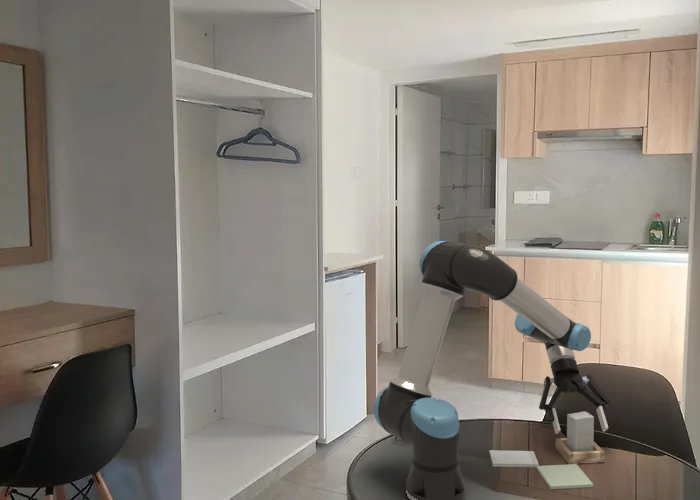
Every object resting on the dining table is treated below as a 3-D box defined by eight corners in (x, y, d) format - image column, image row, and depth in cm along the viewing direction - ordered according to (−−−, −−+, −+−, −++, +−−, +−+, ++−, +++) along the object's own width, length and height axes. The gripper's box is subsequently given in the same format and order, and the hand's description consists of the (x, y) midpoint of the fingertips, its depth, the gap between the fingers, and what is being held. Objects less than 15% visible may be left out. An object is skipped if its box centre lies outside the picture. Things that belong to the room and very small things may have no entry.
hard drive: (492, 462, 180) (538, 463, 179) (488, 449, 188) (533, 449, 187) (492, 468, 180) (538, 469, 179) (488, 455, 189) (533, 455, 187)
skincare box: (584, 450, 188) (585, 410, 187) (593, 457, 184) (594, 416, 183) (565, 453, 187) (566, 413, 185) (574, 460, 183) (575, 419, 181)
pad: (550, 489, 168) (550, 486, 167) (536, 468, 178) (536, 466, 178) (593, 487, 168) (593, 484, 168) (576, 466, 179) (576, 464, 179)
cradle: (568, 464, 180) (569, 454, 180) (555, 448, 190) (555, 438, 190) (604, 462, 181) (604, 452, 180) (589, 446, 191) (589, 436, 190)
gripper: (599, 366, 201) (620, 433, 189) (519, 369, 200) (534, 437, 187) (607, 354, 195) (630, 423, 183) (524, 358, 194) (541, 427, 181)
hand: (581, 431), depth 185 cm, fingers open, 13 cm apart
